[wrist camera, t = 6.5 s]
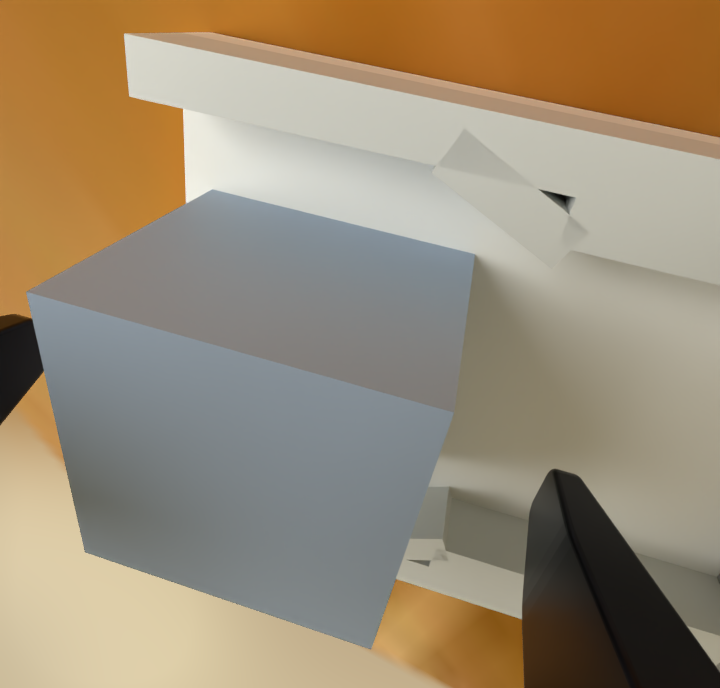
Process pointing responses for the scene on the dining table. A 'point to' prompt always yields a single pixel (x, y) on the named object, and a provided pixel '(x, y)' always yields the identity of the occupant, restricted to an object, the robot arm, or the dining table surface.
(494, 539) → the board
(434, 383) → the block
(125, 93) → the dining table surface
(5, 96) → the dining table surface
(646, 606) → the robot arm
